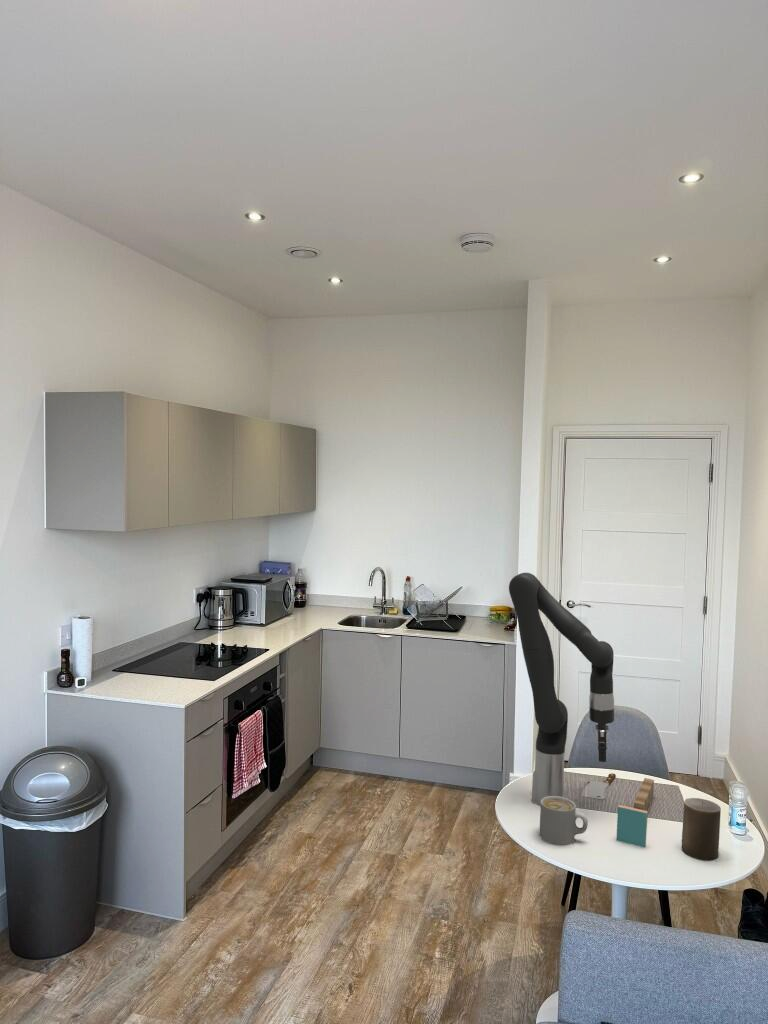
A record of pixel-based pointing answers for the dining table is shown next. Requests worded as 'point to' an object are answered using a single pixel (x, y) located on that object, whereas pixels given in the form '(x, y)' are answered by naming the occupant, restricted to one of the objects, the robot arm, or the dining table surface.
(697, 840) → the pillar candle
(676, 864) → the dining table surface
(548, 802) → the coffee mug
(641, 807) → the curved tan slat
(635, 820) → the tile
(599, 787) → the kitchen cleaver
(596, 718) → the robot arm
